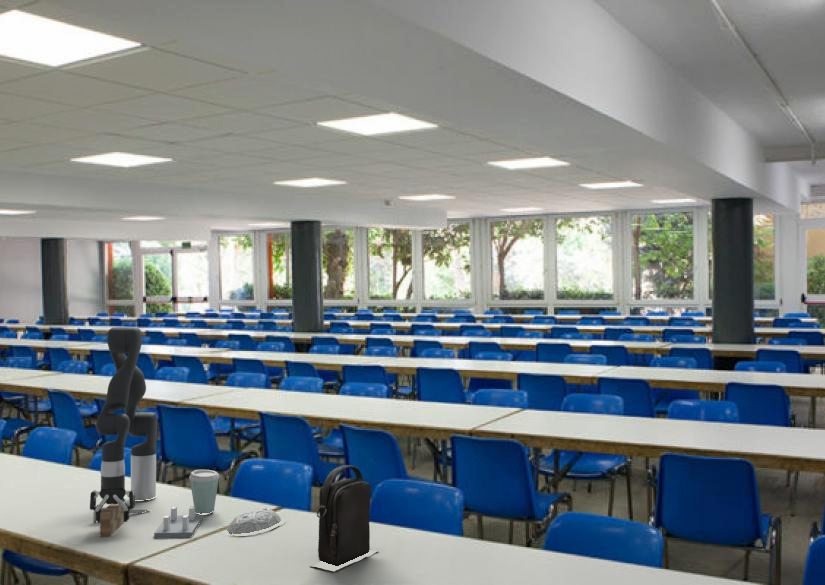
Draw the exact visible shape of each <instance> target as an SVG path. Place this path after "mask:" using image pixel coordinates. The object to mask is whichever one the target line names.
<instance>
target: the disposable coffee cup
mask: <svg viewBox="0 0 825 585" xmlns="http://www.w3.org/2000/svg"><path fill="white" fill-rule="evenodd" d="M219 478H220V474H219V473H218V471H215V470H210V469H195V470H192V471H191V472H190V475H189V478H188V480H189V482H190V487H191V488H190V489H191V495H192V502H193V506H195V514H196V513H200V514H202V513H210V512H212V511H213V512H214V511H215V506H216V500H217V499H216V498H217V494H218V493H217V492H218V485H219V480H220V479H219Z"/></svg>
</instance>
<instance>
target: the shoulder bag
mask: <svg viewBox="0 0 825 585" xmlns="http://www.w3.org/2000/svg"><path fill="white" fill-rule="evenodd" d="M346 469H350V470H352V471H353V473H354V474H355V478H350V477H349V478H346V479H342V480H338V481H335V482H333V481H334V480H335V478H336V477H337V475H339V473H340V472H342V471H343V470H346ZM322 485H323V486H321V487H320V489H319V494H318V496H319V498H318V500H319V504H318V506H319V508H318V509H317V511H316V517H317V518H318V545H317V546H318V547H317V556H318V560H319V562H320V561H323V562H326V563H328V564H332V565H335V566H339V565H341V564H344V563H346V562H348V561H350V560H353V559H355V558H357V557H359V556H362V555H364V554H366V553H368V552H369V550H371V546H370V544H371V543H370V542H371V541H370V537H371V536H370V533H371V531H370V510H371V508H370V507H371V490H372V486H371V484H370V483H369V482H366V481H364V479H363V475H362V473H361V470H360V469H359V468H358V467H357V466H353V465H351V464H349V465H348V464H342V465H340V466H337V467H336V468H334V469H332V470H331V471H330V472H329V473H328V475H327V476H326V477H325V480H324V483H323V484H322Z"/></svg>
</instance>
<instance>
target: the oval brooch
mask: <svg viewBox="0 0 825 585" xmlns="http://www.w3.org/2000/svg"><path fill="white" fill-rule="evenodd" d="M281 519H282V518H281V517H280V515H278V514H277V512H276V511H274V510H270V509H268V508H267V507H263V508H257V509H254V510H253V509H252V510H250V511H247V512H244V513H242V514H238V515H237V516H236V517H235V518H234V519H233V520H232V521H230V523H229V525H228V526H227V527H228V528H227V527H226V528H227V531H228V532H230V534H231V533H233V534H241V533H250V532H254V531H259V530H262V529H266V528H269V527H271V526H273V525H275V524H277V523H279V522H280V521H281Z"/></svg>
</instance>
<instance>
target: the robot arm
mask: <svg viewBox="0 0 825 585" xmlns="http://www.w3.org/2000/svg"><path fill="white" fill-rule="evenodd" d="M106 336H107V337H106V338H107V339H106V340H107V341H106V342H107V347H108V350H109V353H110V356H111V359H112V361H113V365H114V368H115V374H114V375H113V376H112V377H111V379H110V381H109V383H108V386H107V393H106V397H105V398H106V399H105V402H104V405H103V407H102V409H101V411H100V413H99V415H98V417H97V419H96V422H95V429H96V432H97V433H98V434H99V435H101V436H117V438H116V439H115V440H112V441H107V442H104V443H103V444H102V446H101V465H100V490H98V491H97V490H92V491H91V493H90V496H89V497H90V500H89V510H91V511H92V510H93V511H94V510H95V511H96V522H97V523H98V524H100V513H101V512H102V510H101V508H104V507H103V506H105V504H106V505H110V504H118V503H119V505H120V506H121V507H122V508H123V509H124V510H125V511H124V523H127V522H128V520H130V514H131V513H130V509H135V507H136V501H135V500H146V499H151V498H153V497H155V496H156V497H157V436H158V416H157V413H155V412H151V411H149V412H148V411H147V412H146V411H145V412H137V411H136V408H137V406H138V405H139V404H140V402H141V401H142V399H143V397H144V396H145V394H146V390H147V384H146V379H145V375H144V372H143V371H142V370H141V368H139V367H138V366H137V362H138V360H139V356H140V352H141V349H142V344H143V335H142V330H141V329H140V328H139V327H137V326H136V327H135V326H116V327H115V326H114V327H111V328H110V329H109V330H108V331H107V334H106ZM126 354H127V355H126ZM123 409H124V413H114V412H116V411H119V410H123ZM128 435H129V436H131V437H137V438H138V437H139V438H140V437H142V438H144V437H146V438H145V441H143V442H141V443H138V444H136V445H134V446H132V447H131V449H130V490H126V487H125V486H126V480H125V479H126V462H125V444H126V440H127V438H128V437H127V436H128ZM125 496H127V498H128V499H129V504H128V502H127V500H126V499H125V498H124V497H125ZM98 497H100V498H101V499H102V500H101V501H100V502H99V504H98V506H97V498H98ZM120 502H121V503H120Z"/></svg>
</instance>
